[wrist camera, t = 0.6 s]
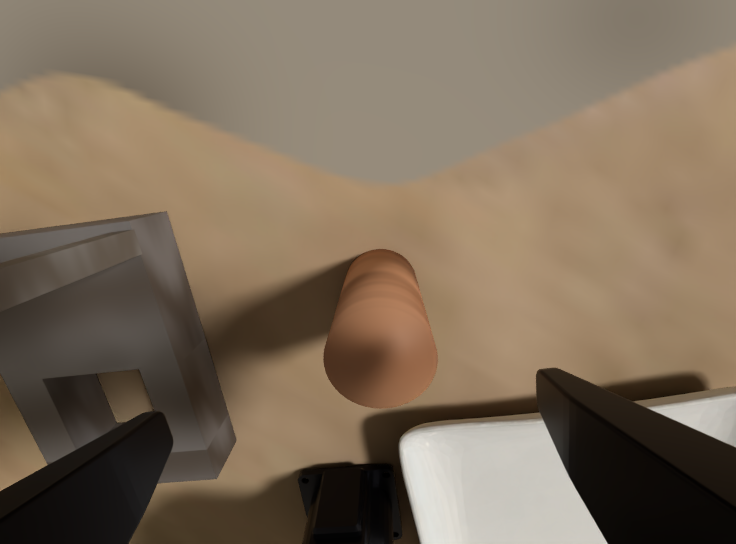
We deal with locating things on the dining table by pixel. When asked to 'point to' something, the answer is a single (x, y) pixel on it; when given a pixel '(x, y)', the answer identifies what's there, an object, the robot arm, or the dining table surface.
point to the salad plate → (519, 474)
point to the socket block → (108, 338)
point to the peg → (380, 334)
